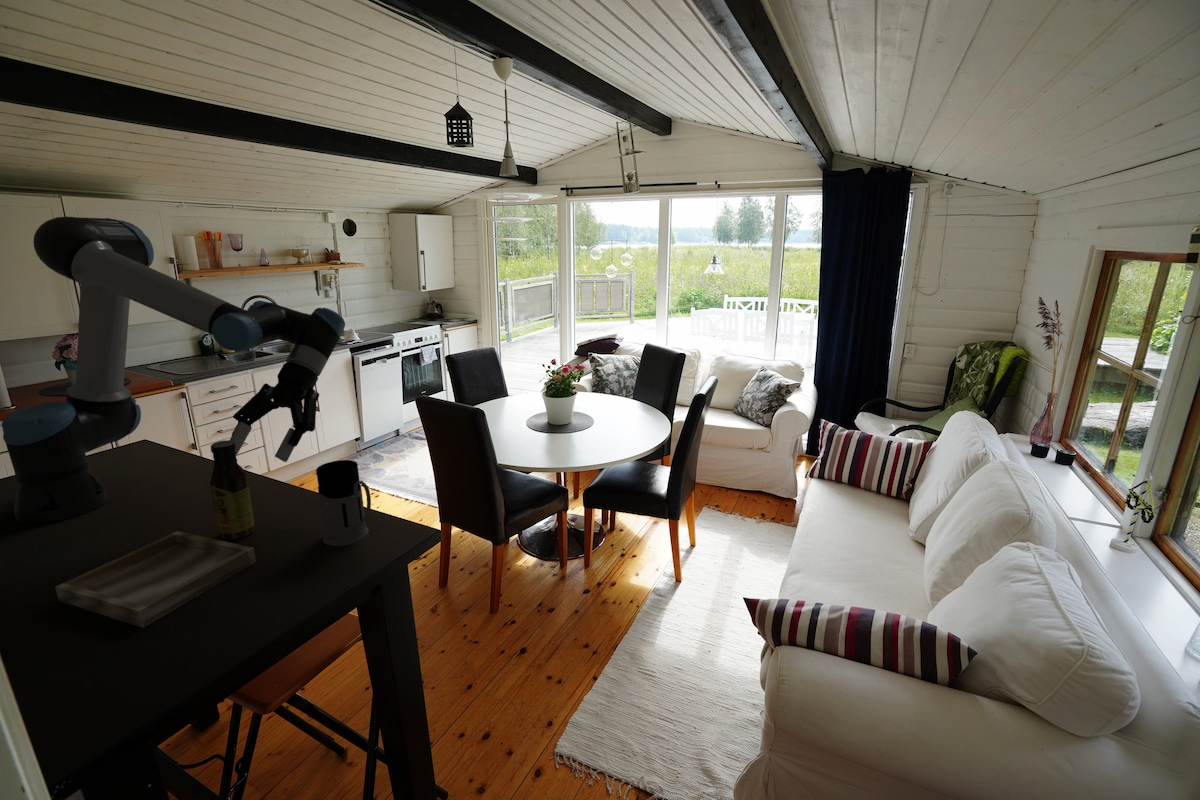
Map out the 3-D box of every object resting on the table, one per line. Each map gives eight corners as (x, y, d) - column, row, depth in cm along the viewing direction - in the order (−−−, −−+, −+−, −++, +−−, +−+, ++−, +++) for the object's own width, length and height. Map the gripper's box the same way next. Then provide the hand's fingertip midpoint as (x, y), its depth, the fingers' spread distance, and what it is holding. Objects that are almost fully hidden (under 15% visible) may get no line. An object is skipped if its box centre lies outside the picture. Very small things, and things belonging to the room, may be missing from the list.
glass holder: (352, 521, 122) (344, 455, 118) (394, 539, 114) (386, 470, 110) (313, 538, 115) (303, 469, 111) (354, 559, 107) (345, 485, 103)
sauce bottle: (216, 534, 116) (198, 442, 111) (250, 523, 121) (234, 435, 116) (225, 545, 112) (207, 450, 107) (260, 533, 116) (244, 442, 111)
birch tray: (59, 602, 94) (54, 586, 93) (180, 544, 112) (177, 531, 111) (143, 627, 88) (139, 611, 87) (256, 562, 106) (253, 547, 105)
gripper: (357, 382, 126) (314, 469, 117) (271, 375, 134) (224, 456, 124) (336, 364, 120) (289, 454, 110) (247, 357, 128) (196, 441, 118)
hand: (255, 455), depth 117 cm, fingers open, 13 cm apart
